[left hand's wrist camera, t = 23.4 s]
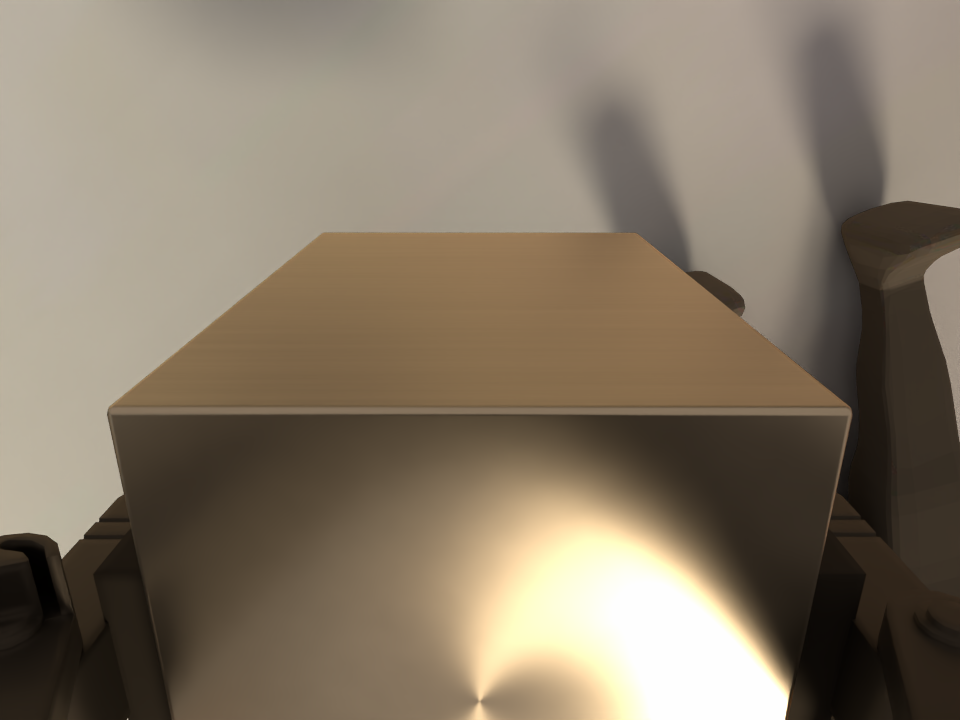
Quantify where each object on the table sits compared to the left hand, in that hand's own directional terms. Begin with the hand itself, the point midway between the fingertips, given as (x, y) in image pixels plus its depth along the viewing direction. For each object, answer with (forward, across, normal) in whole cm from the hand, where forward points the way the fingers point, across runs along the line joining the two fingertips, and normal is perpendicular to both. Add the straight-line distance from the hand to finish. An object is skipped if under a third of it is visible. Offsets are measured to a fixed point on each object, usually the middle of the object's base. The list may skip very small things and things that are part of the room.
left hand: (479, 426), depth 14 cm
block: (+3, 0, 0) cm, 3 cm away
